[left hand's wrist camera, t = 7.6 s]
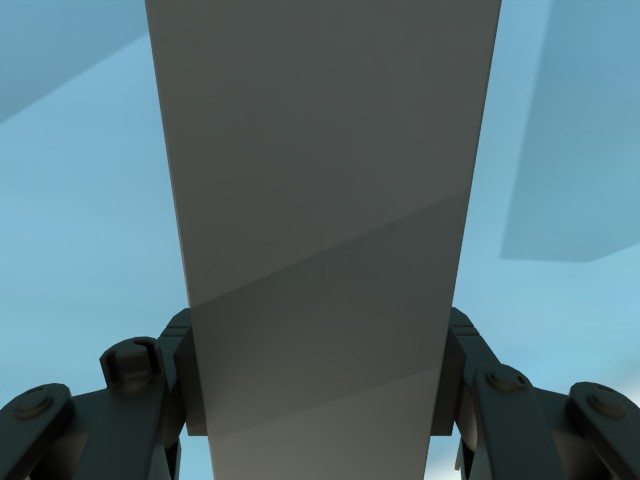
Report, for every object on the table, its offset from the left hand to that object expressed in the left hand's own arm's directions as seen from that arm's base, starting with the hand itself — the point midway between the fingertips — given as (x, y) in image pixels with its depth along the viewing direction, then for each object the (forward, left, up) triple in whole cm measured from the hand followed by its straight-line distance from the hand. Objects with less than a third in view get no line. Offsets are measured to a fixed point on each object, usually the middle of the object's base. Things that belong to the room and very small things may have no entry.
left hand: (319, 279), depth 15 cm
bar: (+33, 0, -1) cm, 33 cm away
